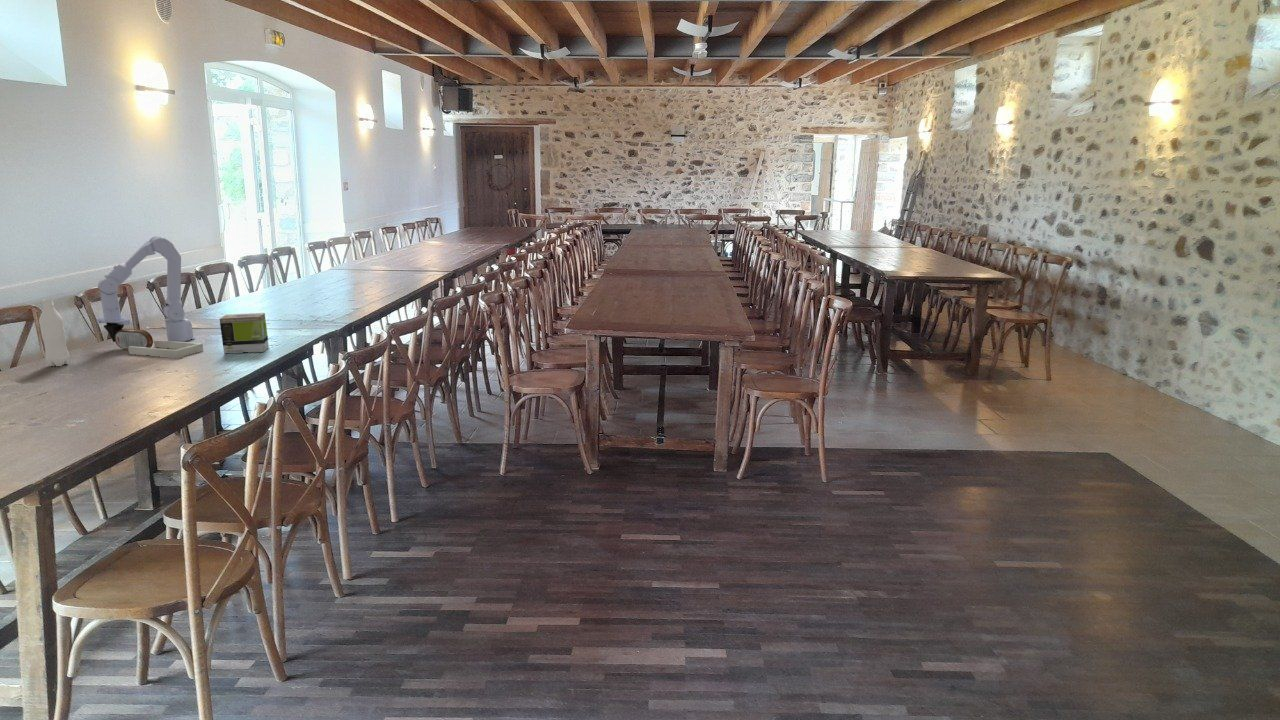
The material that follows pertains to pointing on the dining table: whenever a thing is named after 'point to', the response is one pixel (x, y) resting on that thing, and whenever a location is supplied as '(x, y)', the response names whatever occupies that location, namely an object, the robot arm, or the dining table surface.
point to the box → (182, 347)
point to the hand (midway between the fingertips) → (116, 341)
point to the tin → (133, 338)
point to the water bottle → (53, 335)
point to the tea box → (244, 333)
